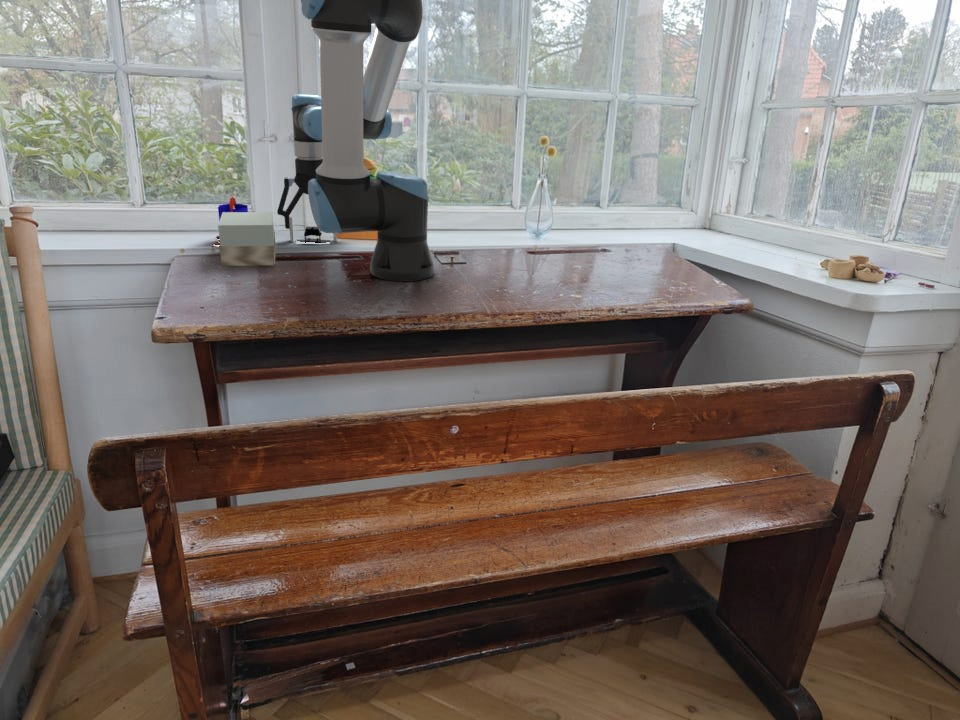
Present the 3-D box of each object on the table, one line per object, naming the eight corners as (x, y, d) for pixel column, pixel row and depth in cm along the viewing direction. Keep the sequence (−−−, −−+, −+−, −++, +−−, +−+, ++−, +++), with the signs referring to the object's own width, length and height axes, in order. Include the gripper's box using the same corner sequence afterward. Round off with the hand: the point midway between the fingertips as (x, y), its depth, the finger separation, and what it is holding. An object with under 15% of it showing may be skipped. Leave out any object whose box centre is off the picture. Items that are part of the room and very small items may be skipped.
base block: (276, 250, 172) (274, 231, 170) (274, 266, 159) (273, 245, 157) (227, 251, 169) (225, 231, 167) (221, 267, 156) (219, 246, 154)
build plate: (288, 247, 177) (287, 230, 175) (291, 240, 184) (290, 224, 182) (335, 247, 179) (335, 231, 177) (336, 241, 186) (336, 225, 184)
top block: (274, 231, 170) (272, 212, 168) (274, 245, 157) (272, 224, 155) (224, 232, 167) (222, 212, 165) (220, 246, 154) (218, 225, 152)
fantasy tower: (215, 237, 181) (210, 192, 176) (260, 237, 184) (257, 193, 179) (210, 248, 170) (204, 201, 165) (258, 247, 173) (254, 201, 168)
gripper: (353, 157, 179) (355, 236, 188) (263, 154, 174) (270, 237, 183) (355, 160, 173) (357, 243, 182) (262, 158, 167) (269, 244, 176)
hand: (313, 240), depth 182 cm, fingers open, 11 cm apart
